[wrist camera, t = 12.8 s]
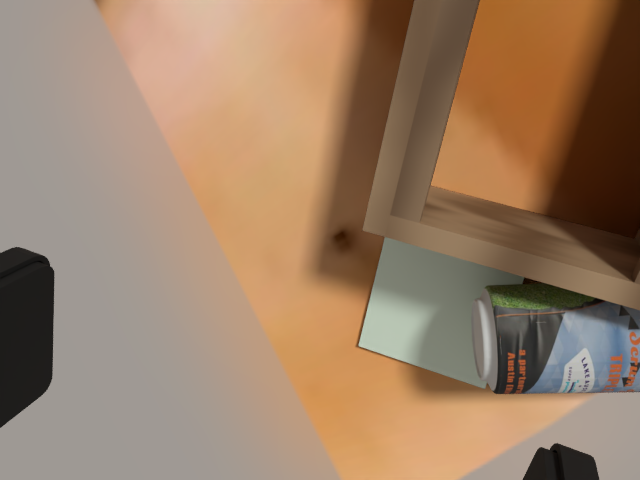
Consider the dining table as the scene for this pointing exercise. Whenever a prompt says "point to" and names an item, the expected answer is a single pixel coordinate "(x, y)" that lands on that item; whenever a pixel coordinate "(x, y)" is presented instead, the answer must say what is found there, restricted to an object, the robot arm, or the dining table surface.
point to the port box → (466, 211)
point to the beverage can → (554, 341)
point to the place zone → (427, 309)
